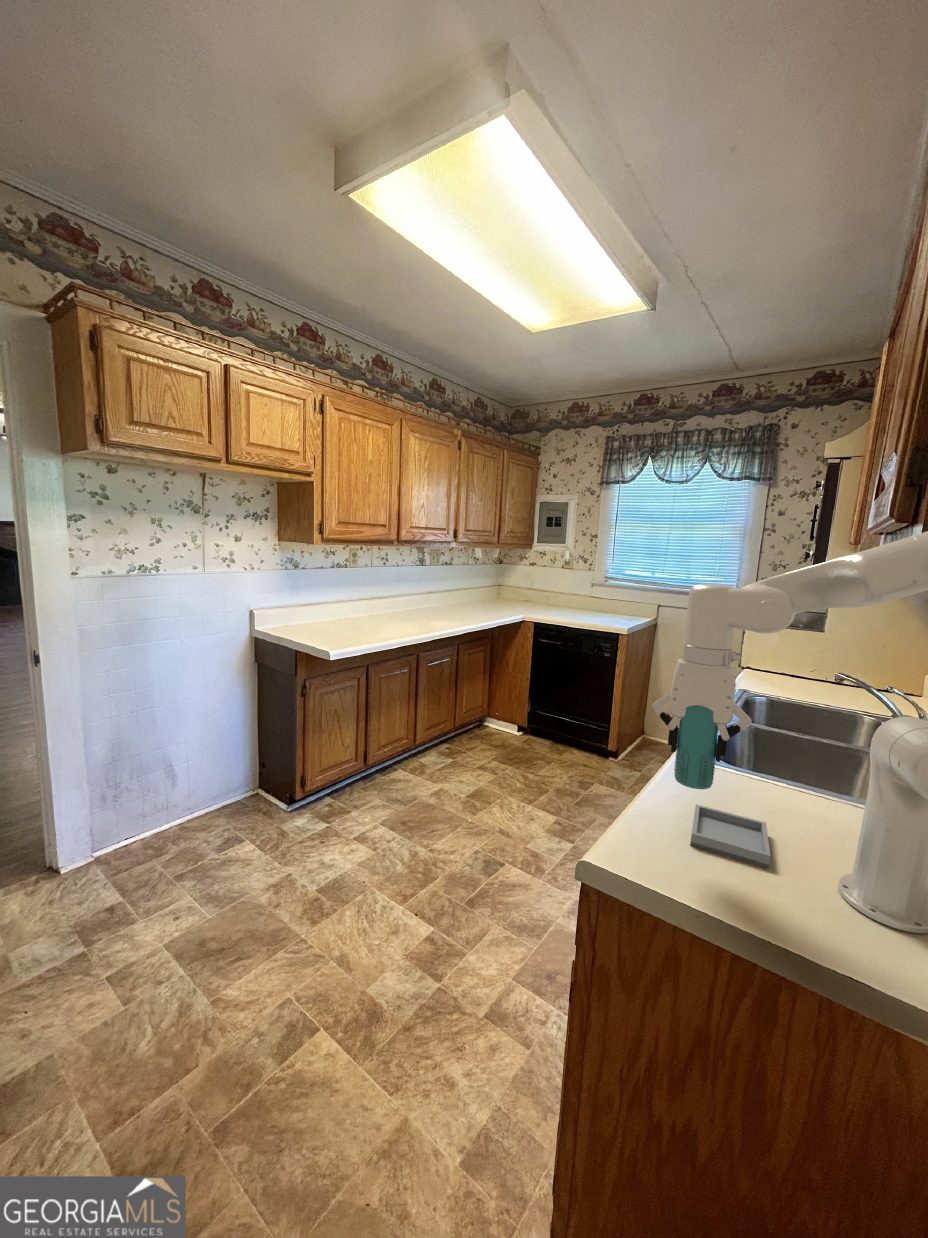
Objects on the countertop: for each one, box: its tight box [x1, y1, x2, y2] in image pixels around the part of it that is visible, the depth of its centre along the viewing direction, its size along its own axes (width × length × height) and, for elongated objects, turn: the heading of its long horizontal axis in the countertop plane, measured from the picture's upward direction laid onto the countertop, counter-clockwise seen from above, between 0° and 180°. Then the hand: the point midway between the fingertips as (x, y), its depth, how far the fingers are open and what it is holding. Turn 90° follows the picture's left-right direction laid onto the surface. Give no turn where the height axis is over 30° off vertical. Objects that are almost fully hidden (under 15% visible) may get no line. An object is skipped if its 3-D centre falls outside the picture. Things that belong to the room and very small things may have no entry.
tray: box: [689, 804, 772, 870], centre depth 98 cm, size 13×13×2 cm
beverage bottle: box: [673, 705, 719, 790], centre depth 88 cm, size 6×7×20 cm
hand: (695, 753), depth 89 cm, fingers closed on beverage bottle, 6 cm apart
